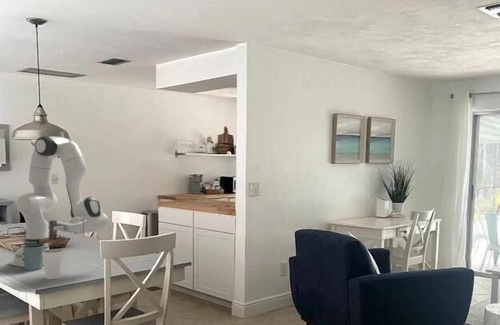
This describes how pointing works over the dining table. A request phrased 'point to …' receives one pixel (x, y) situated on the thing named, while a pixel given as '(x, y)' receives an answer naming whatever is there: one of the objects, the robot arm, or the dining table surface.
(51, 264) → the foam cup
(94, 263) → the dining table surface
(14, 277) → the dining table surface
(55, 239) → the cover
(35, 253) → the teal canister
